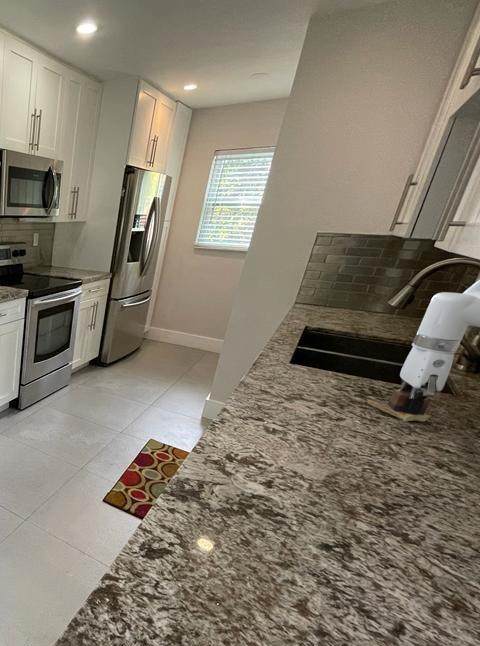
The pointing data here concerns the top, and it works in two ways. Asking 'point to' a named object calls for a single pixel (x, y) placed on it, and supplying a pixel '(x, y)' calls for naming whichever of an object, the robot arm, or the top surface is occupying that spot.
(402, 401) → the eraser
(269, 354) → the top surface
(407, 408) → the robot arm
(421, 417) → the shard
